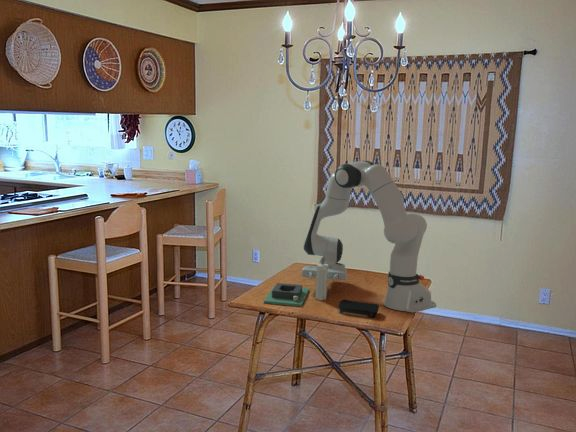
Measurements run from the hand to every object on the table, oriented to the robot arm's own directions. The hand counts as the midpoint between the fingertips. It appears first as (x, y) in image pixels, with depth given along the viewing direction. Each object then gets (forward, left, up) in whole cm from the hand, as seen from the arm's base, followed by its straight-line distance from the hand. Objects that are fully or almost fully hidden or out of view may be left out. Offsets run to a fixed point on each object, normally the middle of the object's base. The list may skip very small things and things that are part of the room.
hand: (322, 277), depth 228 cm
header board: (+14, -5, -9) cm, 18 cm away
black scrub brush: (-6, +21, -10) cm, 24 cm away
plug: (+1, +1, -9) cm, 9 cm away
